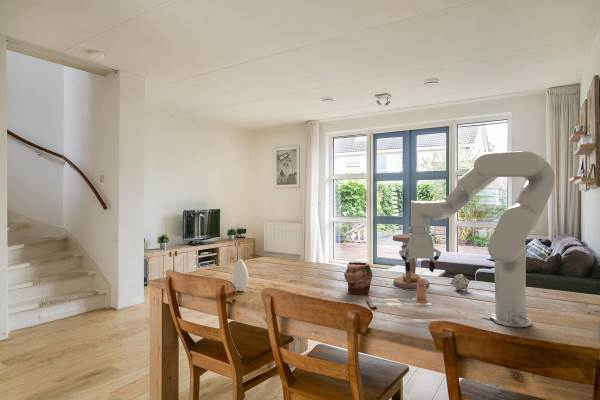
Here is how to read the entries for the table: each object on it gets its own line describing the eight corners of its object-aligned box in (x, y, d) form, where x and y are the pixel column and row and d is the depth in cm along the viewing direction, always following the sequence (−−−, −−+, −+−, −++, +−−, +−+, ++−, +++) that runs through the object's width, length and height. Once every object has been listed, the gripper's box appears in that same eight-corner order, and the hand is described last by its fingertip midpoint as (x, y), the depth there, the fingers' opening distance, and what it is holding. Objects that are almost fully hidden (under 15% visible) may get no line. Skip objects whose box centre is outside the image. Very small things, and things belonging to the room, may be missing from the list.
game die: (464, 299, 169) (474, 285, 163) (446, 292, 171) (455, 277, 165) (464, 285, 176) (473, 272, 170) (447, 279, 178) (455, 265, 172)
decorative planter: (356, 285, 183) (355, 258, 183) (379, 288, 176) (378, 260, 176) (339, 295, 166) (338, 265, 166) (363, 298, 159) (363, 267, 159)
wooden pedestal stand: (402, 279, 195) (401, 233, 195) (434, 283, 184) (433, 235, 184) (387, 285, 182) (386, 236, 182) (421, 290, 171) (420, 238, 171)
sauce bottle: (244, 293, 171) (243, 256, 171) (229, 292, 174) (228, 255, 174) (251, 289, 178) (250, 253, 178) (237, 288, 181) (236, 253, 181)
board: (436, 308, 143) (436, 305, 143) (371, 309, 144) (371, 306, 144) (426, 300, 155) (426, 297, 155) (366, 300, 156) (366, 297, 156)
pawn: (429, 303, 147) (428, 279, 147) (417, 303, 147) (417, 279, 147) (425, 299, 152) (425, 276, 152) (414, 299, 152) (413, 276, 152)
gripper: (401, 231, 146) (401, 273, 146) (444, 231, 145) (443, 273, 146) (397, 229, 153) (396, 269, 154) (437, 229, 153) (437, 269, 153)
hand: (419, 271), depth 150 cm, fingers open, 9 cm apart
